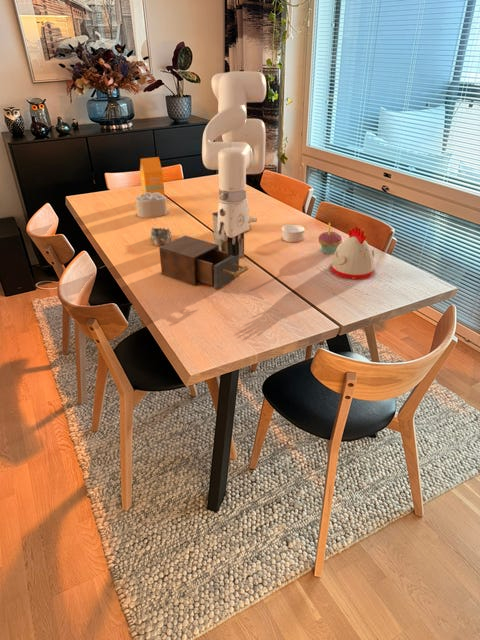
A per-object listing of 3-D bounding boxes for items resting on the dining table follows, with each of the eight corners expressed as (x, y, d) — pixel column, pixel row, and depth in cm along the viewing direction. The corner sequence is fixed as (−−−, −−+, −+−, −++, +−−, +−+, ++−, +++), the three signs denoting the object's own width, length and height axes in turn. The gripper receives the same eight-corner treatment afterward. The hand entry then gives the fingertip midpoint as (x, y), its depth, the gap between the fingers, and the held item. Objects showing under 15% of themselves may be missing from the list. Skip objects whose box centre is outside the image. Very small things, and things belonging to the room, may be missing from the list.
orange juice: (143, 199, 223) (138, 157, 212) (160, 197, 226) (156, 155, 216) (147, 204, 217) (142, 160, 206) (165, 201, 220) (161, 158, 209)
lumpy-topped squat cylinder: (169, 214, 204) (168, 194, 200) (142, 219, 199) (139, 199, 194) (160, 207, 212) (159, 189, 207) (133, 212, 206) (131, 193, 202)
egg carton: (171, 245, 174) (170, 235, 172) (151, 246, 173) (150, 236, 171) (171, 234, 183) (170, 225, 181) (152, 235, 182) (151, 226, 180)
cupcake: (335, 257, 163) (338, 225, 157) (313, 252, 167) (315, 220, 161) (343, 249, 170) (347, 218, 163) (322, 244, 173) (325, 214, 167)
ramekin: (276, 239, 179) (277, 228, 176) (290, 233, 184) (291, 222, 182) (294, 245, 173) (295, 234, 171) (308, 238, 179) (309, 227, 177)
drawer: (253, 280, 146) (253, 258, 142) (231, 294, 138) (231, 271, 134) (206, 266, 156) (205, 244, 152) (184, 278, 148) (182, 256, 144)
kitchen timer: (346, 282, 147) (352, 238, 139) (323, 265, 158) (327, 223, 150) (381, 274, 152) (389, 231, 144) (356, 259, 162) (362, 218, 154)
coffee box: (236, 250, 169) (236, 208, 161) (244, 257, 164) (244, 213, 156) (214, 255, 165) (212, 212, 157) (221, 262, 161) (220, 217, 152)
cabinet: (219, 271, 154) (218, 244, 149) (195, 285, 146) (193, 257, 140) (186, 261, 161) (185, 235, 156) (161, 274, 153) (159, 247, 148)
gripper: (227, 204, 122) (228, 266, 132) (258, 190, 133) (257, 249, 142) (205, 199, 126) (208, 260, 136) (237, 186, 136) (237, 243, 146)
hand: (233, 254), depth 139 cm, fingers closed
